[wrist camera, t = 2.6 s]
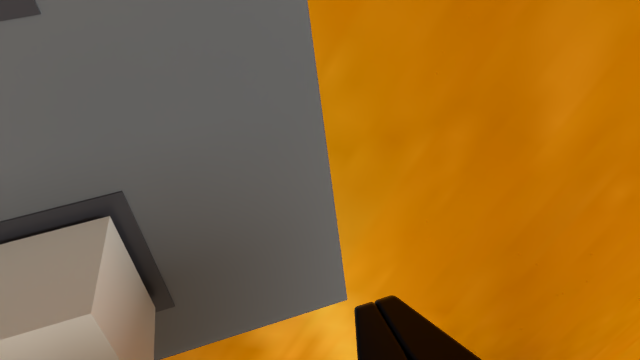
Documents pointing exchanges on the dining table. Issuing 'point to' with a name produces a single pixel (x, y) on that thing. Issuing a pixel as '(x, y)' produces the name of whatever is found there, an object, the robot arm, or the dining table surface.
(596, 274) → the dining table surface
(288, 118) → the switch bank
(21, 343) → the tab
